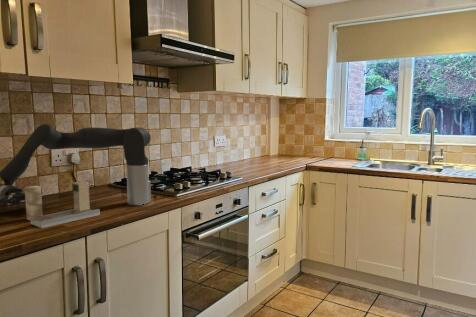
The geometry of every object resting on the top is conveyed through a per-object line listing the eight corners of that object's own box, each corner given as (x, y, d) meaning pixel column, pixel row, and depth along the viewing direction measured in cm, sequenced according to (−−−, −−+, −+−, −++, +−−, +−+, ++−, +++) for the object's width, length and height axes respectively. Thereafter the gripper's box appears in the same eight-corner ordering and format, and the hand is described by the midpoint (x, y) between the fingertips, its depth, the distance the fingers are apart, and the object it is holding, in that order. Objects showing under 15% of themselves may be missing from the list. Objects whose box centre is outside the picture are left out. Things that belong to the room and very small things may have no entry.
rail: (88, 211, 148) (87, 179, 147) (100, 214, 143) (98, 181, 142) (30, 224, 131) (28, 187, 129) (41, 228, 126) (39, 190, 125)
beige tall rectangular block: (39, 216, 141) (37, 185, 140) (44, 218, 138) (42, 186, 137) (26, 219, 137) (24, 187, 136) (31, 221, 135) (29, 188, 134)
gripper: (-11, 188, 144) (6, 193, 134) (27, 183, 155) (46, 187, 145) (-10, 207, 144) (8, 213, 135) (29, 200, 156) (47, 206, 146)
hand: (28, 200), depth 140 cm, fingers open, 8 cm apart
